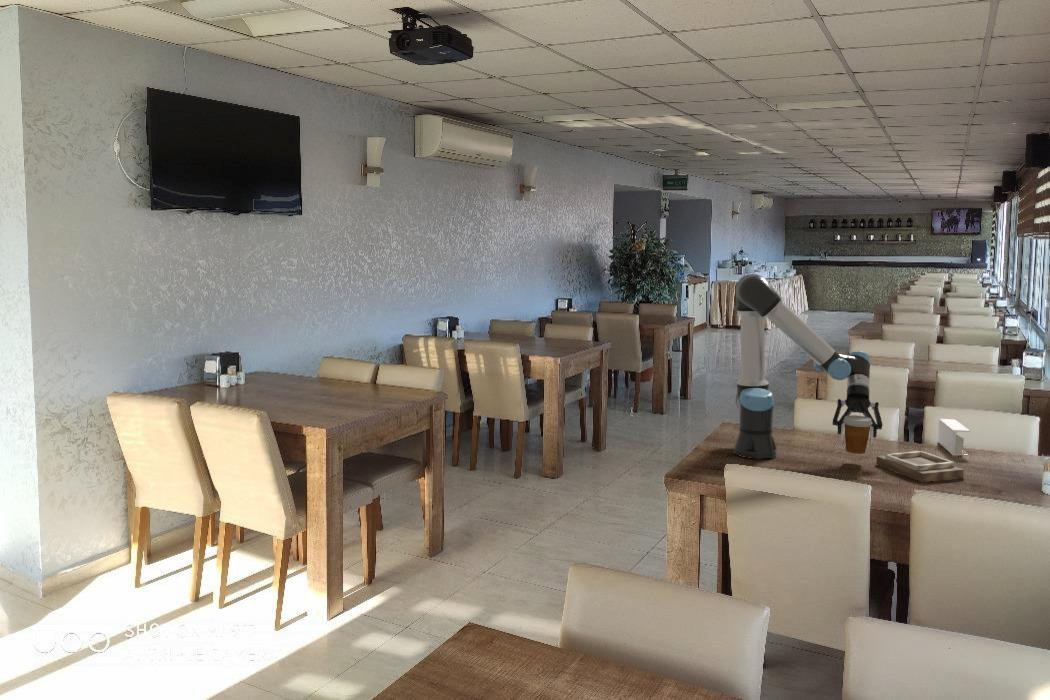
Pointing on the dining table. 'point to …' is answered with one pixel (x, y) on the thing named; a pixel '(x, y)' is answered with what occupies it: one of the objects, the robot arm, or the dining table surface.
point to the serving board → (921, 466)
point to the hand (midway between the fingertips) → (856, 443)
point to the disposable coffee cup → (856, 433)
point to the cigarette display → (951, 435)
